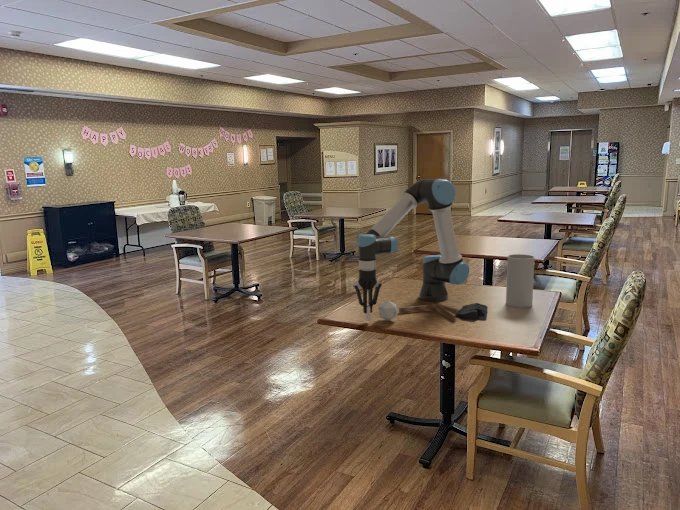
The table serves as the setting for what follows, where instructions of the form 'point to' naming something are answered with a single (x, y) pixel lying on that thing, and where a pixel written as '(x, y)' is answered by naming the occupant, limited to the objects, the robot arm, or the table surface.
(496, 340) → the table surface
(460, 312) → the dark slate chunk
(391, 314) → the die
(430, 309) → the rest corner
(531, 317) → the table surface
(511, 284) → the cylinder vase
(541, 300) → the table surface
